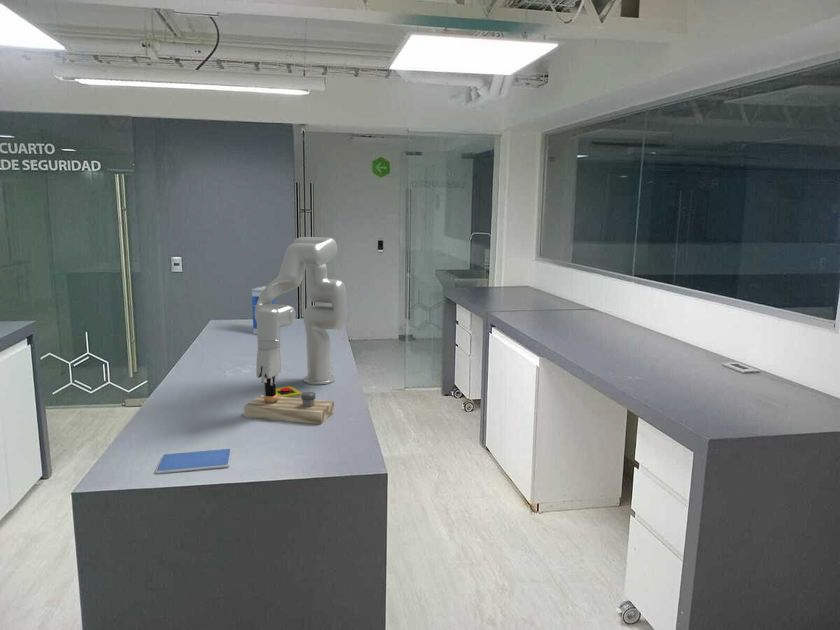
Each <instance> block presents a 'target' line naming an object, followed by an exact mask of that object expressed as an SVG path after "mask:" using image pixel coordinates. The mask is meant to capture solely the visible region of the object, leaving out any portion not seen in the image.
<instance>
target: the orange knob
mask: <svg viewBox="0 0 840 630" xmlns="http://www.w3.org/2000/svg"><path fill="white" fill-rule="evenodd" d="M277 400H278V394H276V395H275V396H266V395H265V394H264V401H265V403H269V404H274V403H276V402H277Z"/></svg>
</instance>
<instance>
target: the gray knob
mask: <svg viewBox="0 0 840 630" xmlns="http://www.w3.org/2000/svg"><path fill="white" fill-rule="evenodd" d="M301 399H302V400H303V407H312V406H314V400H316V392H314V391H305V392H301Z"/></svg>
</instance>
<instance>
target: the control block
mask: <svg viewBox="0 0 840 630" xmlns="http://www.w3.org/2000/svg"><path fill="white" fill-rule="evenodd" d="M264 395H265V394H264ZM264 395H263V394H261V395H259V396H258V397H256V398H254V399H253V400H251V401H249V402H248V403H246V404H245V405H244V406H243V407H244V418H245V417H246V418H253V419H262V420H263V419H264V420H275V421H287V422H294V423H295V422H298V423H306V424H307V423H309V424H318V425H322V424H323V423H324V422H326V420H328V419H329V417H331V416H333V415H334V413H335V401H334V400H323V399H314V406H312V407H303V400H302V399H300V398H288V397H278V400H277V402H276V403H274V404H269V403H265V401H264Z"/></svg>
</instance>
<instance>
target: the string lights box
mask: <svg viewBox="0 0 840 630" xmlns="http://www.w3.org/2000/svg"><path fill="white" fill-rule="evenodd" d="M267 286H268V285H267ZM267 286H265V285H263V286H259V287H254V288H251V300H252V301H251V303H252V304H251V305H252V327H253V328H252V331H253V335H257V321H256V320H255V308H256V304H257V301H258V298H259V296H260V294H261V292H262V291H263V290H264V289H265V288H266V287H267ZM271 304H275V299H274V300H273V301H272V302H271Z"/></svg>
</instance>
